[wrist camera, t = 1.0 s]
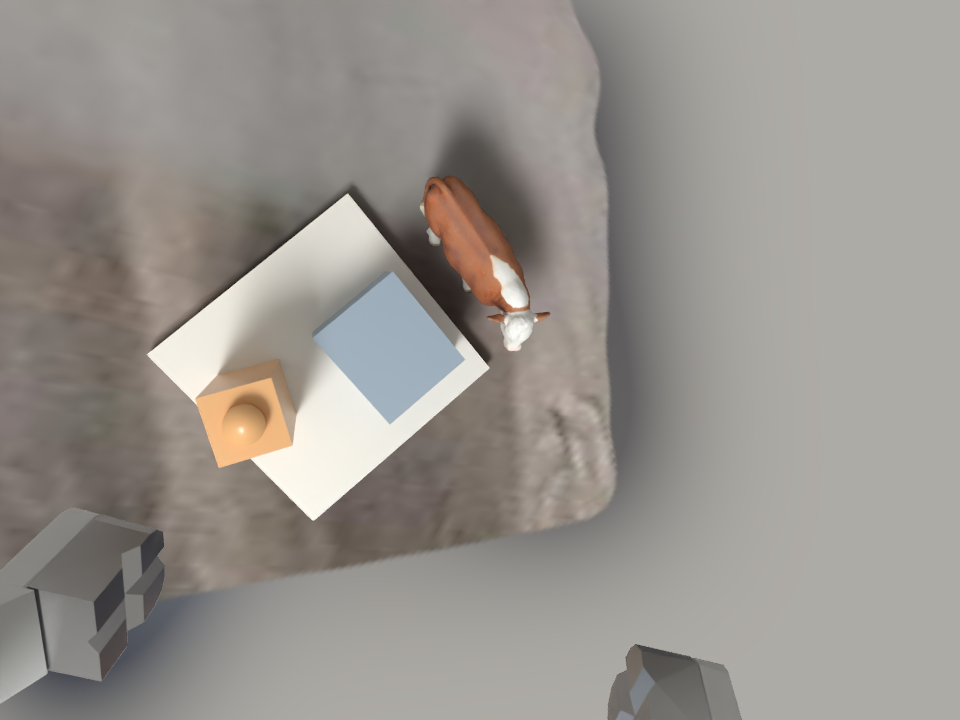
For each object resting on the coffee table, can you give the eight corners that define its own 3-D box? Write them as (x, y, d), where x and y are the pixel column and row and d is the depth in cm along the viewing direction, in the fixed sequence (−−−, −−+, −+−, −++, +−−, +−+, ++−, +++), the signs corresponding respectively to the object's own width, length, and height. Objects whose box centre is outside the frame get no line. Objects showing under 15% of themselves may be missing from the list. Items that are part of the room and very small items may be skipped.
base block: (312, 331, 46) (312, 338, 42) (385, 271, 47) (392, 271, 43) (383, 410, 48) (389, 424, 44) (452, 351, 49) (465, 359, 45)
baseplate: (150, 352, 44) (146, 354, 43) (347, 194, 46) (347, 193, 45) (313, 516, 49) (313, 521, 48) (486, 366, 51) (489, 367, 50)
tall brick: (236, 432, 46) (217, 471, 37) (217, 375, 45) (192, 401, 36) (296, 415, 47) (292, 449, 38) (278, 358, 46) (270, 379, 37)
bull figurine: (483, 349, 51) (514, 363, 43) (400, 197, 47) (417, 183, 40) (528, 322, 51) (567, 331, 44) (449, 170, 48) (476, 151, 40)
